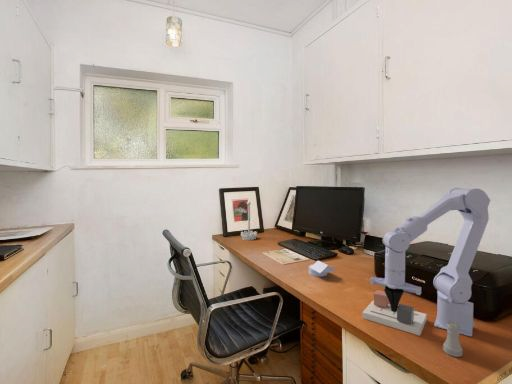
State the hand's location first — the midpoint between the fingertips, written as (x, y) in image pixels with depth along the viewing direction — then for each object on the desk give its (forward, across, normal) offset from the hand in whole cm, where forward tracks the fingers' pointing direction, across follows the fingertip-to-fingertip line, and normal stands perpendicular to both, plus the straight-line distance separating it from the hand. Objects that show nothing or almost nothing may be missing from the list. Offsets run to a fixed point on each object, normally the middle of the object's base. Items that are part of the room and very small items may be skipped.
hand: (394, 310), depth 89 cm
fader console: (+4, -1, +4) cm, 6 cm away
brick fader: (+2, -6, +7) cm, 9 cm away
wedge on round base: (+5, -40, +28) cm, 49 cm away
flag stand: (+5, -123, +70) cm, 141 cm away
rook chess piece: (+5, +16, -6) cm, 18 cm away
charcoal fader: (+2, +3, 0) cm, 4 cm away
